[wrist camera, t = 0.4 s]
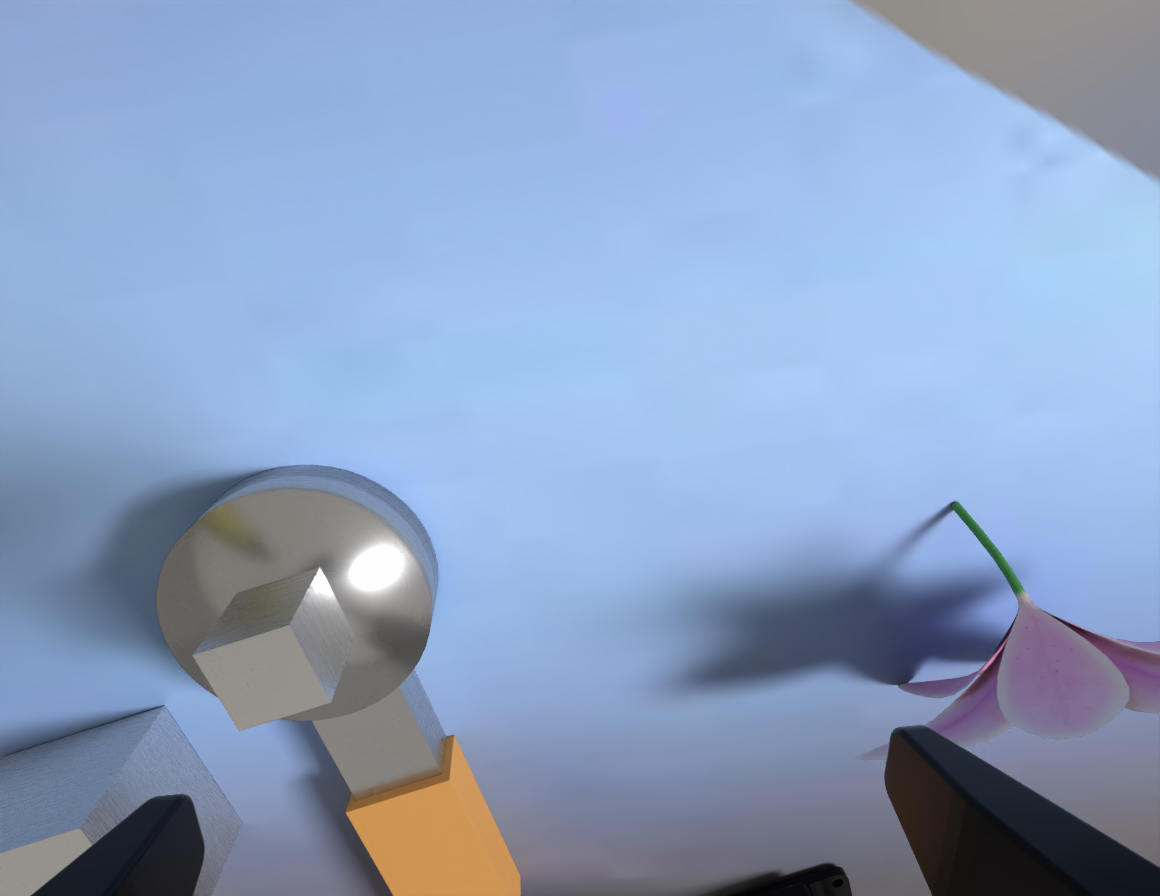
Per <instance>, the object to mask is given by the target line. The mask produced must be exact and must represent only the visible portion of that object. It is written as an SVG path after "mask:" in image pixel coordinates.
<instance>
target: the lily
mask: <svg viewBox="0 0 1160 896" xmlns="http://www.w3.org/2000/svg"><path fill="white" fill-rule="evenodd" d="M951 507H952V508H953V509H954V511H955V512H956V513H957V514H958V515H959V517H960V518H961V519H962V520H963V521H964V523H965V524H966V525H967V526H968V527H969V529H970V530H971V531H972V532H973V533H974V535H975V536H976V537H977V538H978V540H979V541H980V542H981V543H982V545H983V546H984V547H985V549H986V550H987V551H988V552H989V554H990V555H991V556H992V557H993V559H994V560H995V562H996V564H997V565H998V567H999V568H1000V570H1001V571H1002V573H1003V574H1004V576H1005V577H1006V579H1007V580H1008V582H1009V584H1010V586H1011V588H1012V590H1013V592H1014V594H1015V595H1016V597H1017V600H1018V604H1019V609H1018V613H1017V615H1016V617H1015V619H1014V621H1013V623H1012V625H1011V627H1010V628H1009V630H1008V632H1007V633H1006V635H1005V636H1004V638H1003V640H1002V641H1001V643H1000V644H999V646H998V647H997V649H996V650H995V652H994V653H993V654H992V656H991V657H990V658H989V660H988V661H987V662H986V663H985V664H984V665H983V666H982V668H981V669H980V670H979V671H977V672H975V673H972V674H970V675H968V676H964V677H960V678H953V679H945V680H936V681H926V682H915V683H906V684H900V685H898V687H899V688H900V689H902V690H903V691H906V692H909V693H912V694H915V695H919V696H924V697H930V698H944V697H948V696H952V695H955V694H956V693H958V692H959V691H961V690H962V689H964V688H965V687H967V686H968V685H969V684H970V683H971V682H972V681H973V679H974V678H975V677H976V676H977V675H980V676H979V677H978V678H977V679H976V680H975V681H974V682H973V684H972V685H971V686H970V687H969V688H968V689H967V690H966V691H965V692H964V693H963V694H962V695H961V696H960V697H959V698H957V699H956V700H955V701H954V702H953V703H952V704H951V705H950V706H949V707H948V708H947V709H945V710H944V711H943V712H942V713H940V714H939V715H938V716H937V717H936V718H934V719H933V720H932V721H930V722H929V723H927V724H925V725H924V726H926V727H929V728H931V729H932V730H934V731H936V732H937V733H939V734H941V735H942V736H944V737H946V738H947V739H949V740H951V741H952V742H954V743H956V744H957V745H959V746H961V747H962V748H965V747H968V746H972V745H975V744H978V743H982V742H985V741H987V740H989V739H991V738H993V737H995V736H997V735H999V734H1000V733H1002V732H1004V731H1006V730H1008V729H1010V728H1011V727H1012V726H1013V725H1014V726H1016V727H1018V728H1019V729H1021V730H1023V731H1025V732H1027V733H1030V734H1033V735H1036V736H1039V737H1042V738H1047V739H1055V740H1059V739H1070V738H1075V737H1081V736H1083V735H1086V734H1089V733H1091V732H1094V731H1096V730H1098V729H1099V728H1101V727H1102V726H1104V725H1106V724H1107V723H1109V722H1110V721H1111V720H1113V719H1114V718H1115V717H1116V716H1117V715H1118V714H1119V713H1121V712H1122V711H1123V709H1124V708H1127V709H1130V710H1133V711H1139V712H1146V713H1153V714H1160V641H1156V642H1131V641H1126V640H1120V639H1115V638H1111V637H1108V636H1105V635H1102V634H1099V633H1096V632H1094V631H1091V630H1088V629H1085V628H1083V627H1080V626H1078V625H1075V624H1073V623H1070V622H1068V621H1065V620H1063V619H1061V618H1058V617H1056V616H1054V615H1051V614H1049V613H1047V612H1045V611H1044V610H1042V609H1040V608H1038V607H1037V606H1036V605H1035V604H1034V603H1033V602H1032V601H1031V600H1030V598H1029V597H1028V595H1027V594H1026V592H1025V590H1024V589H1023V587H1022V585H1021V584H1020V582H1019V580H1018V579H1017V577H1016V575H1015V574H1014V572H1013V571H1012V569H1011V568H1010V566H1009V565H1008V563H1007V562H1006V560H1005V559H1004V557H1003V556H1002V554H1001V553H1000V552H999V550H998V549H997V548H996V547H995V545H994V544H993V543H992V542H991V540H990V539H989V538H988V537H987V535H986V534H985V533H984V532H983V530H982V529H981V528H980V527H979V526H978V524H977V523H976V522H975V521H974V520H973V519H972V517H971V516H970V515H969V514H968V513H967V511H966V510H965V509H964V508H963V507H962V506H961V504H960V503H959V502H955V503H954V504H952V506H951ZM888 749H889V743H888V744H885V745H883V746H880V747H878V748H875V749H873V750H870V751H868V752H866V753H863V754H861V755H859V756H857V757H856V758H855V759H857V760H864V761H867V760H887V755H888Z"/></svg>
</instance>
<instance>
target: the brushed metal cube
mask: <svg viewBox="0 0 1160 896" xmlns="http://www.w3.org/2000/svg"><path fill="white" fill-rule="evenodd" d="M175 794H186V795H188V796H189V797H190V798H191V799H192V801H193V803H194V807H195V811H196V814H197V818H198V821H199V825H200V828H201V832H202V836H203V839H204V845H205V853H204V861H203V865H202V869H201V872H200V875H199V878H198V882H197V885H196V888H195V892H194V895H193V896H212V894H213V891H214V889H215V887H216V884H217V882H218V880H219V877H220V875H221V873H222V871H223V868H224V866H225V864H226V861H227V859H228V857H229V854H230V852H231V850H232V848H233V845H234V843H235V841H236V838H237V836H238V834H239V831H240V829H241V827H242V823H241V821H240V820H239V818H238V817H237V815H236V814H235V812H234V810H233V809H232V807H231V806H230V804H229V803H228V801H227V800H226V798H225V797H224V795H223V794H222V792H221V791H220V789H219V788H218V786H217V785H216V783H215V782H214V780H213V779H212V777H211V776H210V774H209V773H208V771H207V769H206V768H205V766H204V765H203V763H202V762H201V760H200V759H199V757H198V756H197V754H196V753H195V751H194V750H193V748H192V747H191V745H190V744H189V742H188V741H187V739H186V738H185V736H184V735H183V733H182V732H181V730H180V728H179V727H178V725H177V724H176V722H175V721H174V719H173V718H172V716H171V715H170V713H169V712H168V710H167V709H166V707H165V706H162V707H159V708H156V709H153V710H150V711H147V712H143V713H140V714H137V715H134V716H131V717H128V718H124V719H121V720H118V721H115V722H112V723H108V724H105V725H102V726H99V727H96V728H93V729H89V730H86V731H83V732H80V733H77V734H73V735H70V736H67V737H64V738H61V739H58V740H54V741H51V742H48V743H45V744H42V745H39V746H35V747H32V748H29V749H26V750H23V751H19V752H16V753H13V754H10V755H7V756H4V757H3V758H2V759H1V760H0V896H30V895H32V894H33V893H34V892H35V891H37V890H38V889H39V888H40V887H42V886H43V885H44V884H45V883H46V882H48V881H49V880H50V879H51V878H53V877H54V876H55V875H56V874H57V873H59V872H60V871H61V870H62V869H64V868H65V867H66V866H67V865H69V864H70V863H71V862H72V861H73V860H75V859H76V858H77V857H78V856H80V855H81V854H82V853H83V852H84V851H86V850H87V849H88V848H89V847H91V846H92V845H93V844H94V843H96V842H97V841H98V840H99V839H100V838H102V837H103V836H104V835H105V834H107V833H108V832H109V831H110V830H111V829H113V828H114V827H115V826H116V825H118V824H119V823H120V822H121V821H122V820H124V819H125V818H126V817H127V816H129V815H130V814H131V813H132V812H134V811H135V810H136V809H137V808H138V807H140V806H141V805H142V804H143V803H145V802H146V801H147V800H149V799H151V798H153V797H156V796H165V795H175Z"/></svg>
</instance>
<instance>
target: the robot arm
mask: <svg viewBox="0 0 1160 896" xmlns="http://www.w3.org/2000/svg"><path fill="white" fill-rule="evenodd" d="M884 778H885V786H886V790H887V793H888V796H889V798H890V801H891V803H892V805H893V807H894V810H895V812H896V814H897V816H898V819H899V821H900V823H901V825H902V828H903V830H904V832H905V835H906V837H907V839H908V841H909V844H910V846H911V848H912V850H913V853H914V855H915V857H916V859H917V862H918V864H919V866H920V869H921V871H922V873H923V875H924V878H925V880H926V882H927V884H928V887H929V889H930V891H931V893H932V896H1160V867H1159V866H1157V865H1155V864H1154V863H1152V862H1150V861H1149V860H1147V859H1145V858H1144V857H1142V856H1140V855H1139V854H1137V853H1135V852H1134V851H1132V850H1131V849H1129V848H1127V847H1126V846H1124V845H1122V844H1121V843H1119V842H1117V841H1116V840H1114V839H1112V838H1111V837H1109V836H1107V835H1106V834H1104V833H1102V832H1101V831H1099V830H1097V829H1096V828H1094V827H1093V826H1091V825H1089V824H1088V823H1086V822H1084V821H1083V820H1081V819H1079V818H1078V817H1076V816H1074V815H1073V814H1071V813H1069V812H1068V811H1066V810H1064V809H1063V808H1061V807H1060V806H1058V805H1056V804H1055V803H1053V802H1051V801H1050V800H1048V799H1046V798H1045V797H1043V796H1041V795H1040V794H1038V793H1036V792H1035V791H1033V790H1031V789H1030V788H1028V787H1027V786H1025V785H1023V784H1022V783H1020V782H1018V781H1017V780H1015V779H1013V778H1012V777H1010V776H1008V775H1007V774H1005V773H1003V772H1002V771H1000V770H998V769H997V768H995V767H994V766H992V765H990V764H989V763H987V762H985V761H984V760H982V759H980V758H979V757H977V756H975V755H974V754H972V753H970V752H969V751H967V750H965V749H964V748H962V747H961V746H959V745H957V744H956V743H954V742H952V741H951V740H949V739H947V738H946V737H944V736H942V735H941V734H939V733H937V732H936V731H934V730H932V729H931V728H929V727H926V726H922V725H917V726H906V727H898V728H895V729H894V730H893V732H892V733H891V737H890V742H889V749H888V755H887V761H886V767H885V776H884ZM204 853H205V845H204V839H203V836H202V832H201V828H200V825H199V821H198V818H197V814H196V811H195V807H194V803H193V801H192V799H191V798H190V797H189V796H188V795H186V794H175V795H165V796H156V797H153V798H151V799H149V800H147V801H146V802H145V803H143V804H142V805H141V806H140V807H138V808H137V809H136V810H135V811H134V812H132V813H131V814H130V815H129V816H127V817H126V818H125V819H124V820H122V821H121V822H120V823H119V824H118V825H116V826H115V827H114V828H113V829H111V830H110V831H109V832H108V833H107V834H105V835H104V836H103V837H102V838H100V839H99V840H98V841H97V842H96V843H94V844H93V845H92V846H91V847H89V848H88V849H87V850H86V851H84V852H83V853H82V854H81V855H80V856H78V857H77V858H76V859H75V860H73V861H72V862H71V863H70V864H69V865H67V866H66V867H65V868H64V869H62V870H61V871H60V872H59V873H57V874H56V875H55V876H54V877H53V878H51V879H50V880H49V881H48V882H46V883H45V884H44V885H43V886H42V887H40V888H39V889H38V890H37V891H35V892H34V893H33V894H32V895H30V896H193V895H194V892H195V888H196V885H197V882H198V878H199V875H200V872H201V869H202V865H203V861H204ZM741 896H852V893H851V888H850V884H849V879H848V877H847V876H846V874H845V872H844V870H843V868H841V867H831V868H828V869H824V870H821V871H818V872H815V873H812V874H808V875H805V876H802V877H799V878H796V879H792V880H789V881H786V882H783V883H780V884H776V885H773V886H770V887H767V888H763V889H760V890H757V891H754V892H751V893H747V894H744V895H741Z"/></svg>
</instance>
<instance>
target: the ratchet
mask: <svg viewBox="0 0 1160 896" xmlns="http://www.w3.org/2000/svg"><path fill="white" fill-rule="evenodd" d="M437 587H438V565H437V559H436V554H435V551H434V548H433V545H432V542H431V539H430V537H429V536H428V534H427V532H426V530H425V528H424V526H423V525H422V523H421V522H420V520H419V519H418V518H417V516H416V515H415V514H414V512H413V511H412V510H411V509H410V508H409V507H408V506H407V505H406V504H405V503H404V502H403V501H402V500H401V499H399V498H398V497H397V496H396V495H395V494H394V493H392V492H391V491H389V490H388V489H386V488H385V487H383V486H382V485H380V484H378V483H376V482H374V481H372V480H370V479H368V478H366V477H364V476H361V475H359V474H356V473H353V472H350V471H347V470H343V469H338V468H334V467H328V466H319V465H294V466H286V467H279V468H275V469H271V470H267V471H264V472H261V473H259V474H256V475H253V476H251V477H249V478H247V479H245V480H243V481H242V482H240V483H238V484H236V485H235V486H233V487H232V488H231V489H229V490H228V491H227V492H225V493H224V494H223V495H222V496H221V497H220V498H219V499H218V500H217V501H216V502H215V503H214V504H213V505H212V506H211V507H210V508H209V509H208V510H207V511H206V512H205V513H204V514H203V515H202V516H201V517H200V518H199V519H198V520H197V521H196V522H195V523H194V524H193V525H192V526H191V527H190V528H189V529H188V530H187V531H186V532H185V533H184V534H183V535H182V536H181V537H180V538H179V539H178V541H177V542H176V543H175V545H174V546H173V547H172V549H171V550H170V552H169V554H168V556H167V558H166V560H165V562H164V564H163V566H162V569H161V573H160V576H159V579H158V586H157V593H156V602H157V614H158V619H159V624H160V628H161V630H162V633H163V636H164V639H165V641H166V643H167V645H168V647H169V648H170V650H171V652H172V654H173V655H174V657H175V658H176V660H177V661H178V662H179V664H180V665H181V666H182V668H183V669H184V670H185V671H186V672H187V673H188V674H189V675H190V676H191V677H192V678H193V679H194V680H195V681H196V682H197V683H199V684H200V685H201V686H202V687H203V688H205V689H206V690H207V691H209V692H210V693H212V694H213V695H215V696H216V697H218V698H219V700H220V701H221V703H222V704H223V706H224V708H225V709H226V711H227V713H228V714H229V716H230V717H231V719H232V721H233V722H234V724H235V725H236V727H237V729H238V730H239V731H242V730H245V729H248V728H251V727H255V726H258V725H261V724H264V723H267V722H271V721H274V720H277V719H282V720H293V721H312V723H313V724H314V726H315V728H316V730H317V732H318V733H319V735H320V737H321V739H322V740H323V742H324V744H325V746H326V748H327V749H328V751H329V753H330V755H331V756H332V758H333V760H334V762H335V764H336V765H337V767H338V769H339V771H340V772H341V774H342V776H343V778H344V780H345V781H346V783H347V785H348V787H349V788H350V790H351V795H350V799H349V802H348V806H347V810H346V814H347V816H348V818H349V819H350V821H351V823H352V824H353V826H354V828H355V830H356V831H357V833H358V835H359V837H360V838H361V840H362V842H363V844H364V845H365V847H366V849H367V851H368V852H369V854H370V856H371V858H372V859H373V861H374V863H375V864H376V866H377V868H378V870H379V871H380V873H381V875H382V877H383V878H384V880H385V882H386V884H387V885H388V887H389V889H390V891H391V892H392V894H393V896H521V885H520V874H519V872H518V870H517V868H516V866H515V864H514V862H513V860H512V857H511V855H510V853H509V851H508V849H507V847H506V845H505V842H504V840H503V838H502V836H501V834H500V832H499V830H498V828H497V825H496V823H495V821H494V819H493V817H492V815H491V813H490V810H489V808H488V806H487V804H486V802H485V800H484V798H483V795H482V793H481V791H480V789H479V787H478V785H477V783H476V781H475V778H474V776H473V774H472V772H471V770H470V768H469V766H468V763H467V761H466V759H465V757H464V755H463V753H462V751H461V749H460V746H459V744H458V742H457V740H456V738H455V736H454V735H452V736H449V737H446V735H445V733H444V731H443V729H442V727H441V724H440V722H439V720H438V718H437V716H436V714H435V712H434V710H433V708H432V705H431V703H430V701H429V699H428V697H427V695H426V693H425V691H424V689H423V686H422V684H421V682H420V680H419V678H418V676H417V674H416V672H415V670H414V668H415V666H416V665H417V663H418V662H419V660H420V658H421V656H422V654H423V651H424V649H425V647H426V643H427V640H428V636H429V632H430V627H431V621H432V616H433V611H434V605H435V600H436V595H437Z"/></svg>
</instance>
